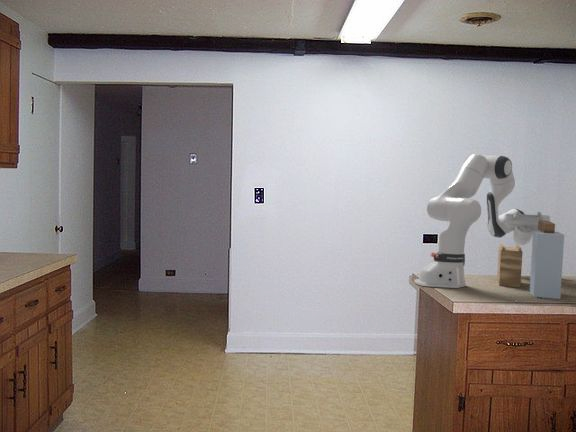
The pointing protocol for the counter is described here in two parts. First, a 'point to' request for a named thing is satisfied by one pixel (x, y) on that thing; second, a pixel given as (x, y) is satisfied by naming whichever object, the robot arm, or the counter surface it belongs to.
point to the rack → (509, 266)
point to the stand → (546, 264)
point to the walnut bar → (546, 227)
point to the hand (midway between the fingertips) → (528, 213)
